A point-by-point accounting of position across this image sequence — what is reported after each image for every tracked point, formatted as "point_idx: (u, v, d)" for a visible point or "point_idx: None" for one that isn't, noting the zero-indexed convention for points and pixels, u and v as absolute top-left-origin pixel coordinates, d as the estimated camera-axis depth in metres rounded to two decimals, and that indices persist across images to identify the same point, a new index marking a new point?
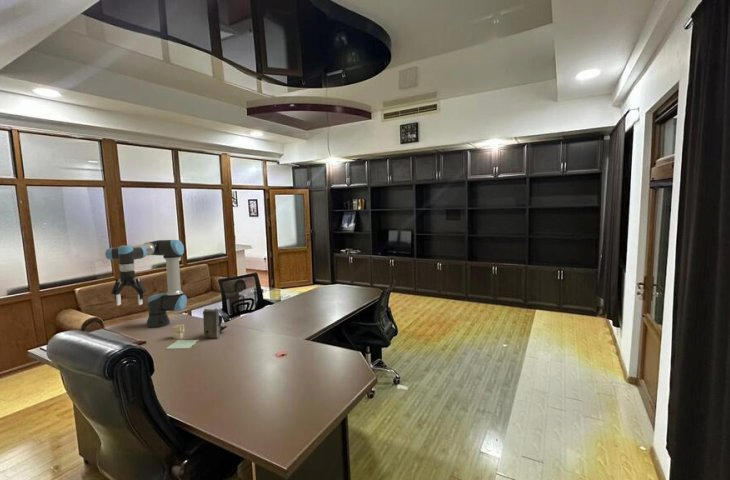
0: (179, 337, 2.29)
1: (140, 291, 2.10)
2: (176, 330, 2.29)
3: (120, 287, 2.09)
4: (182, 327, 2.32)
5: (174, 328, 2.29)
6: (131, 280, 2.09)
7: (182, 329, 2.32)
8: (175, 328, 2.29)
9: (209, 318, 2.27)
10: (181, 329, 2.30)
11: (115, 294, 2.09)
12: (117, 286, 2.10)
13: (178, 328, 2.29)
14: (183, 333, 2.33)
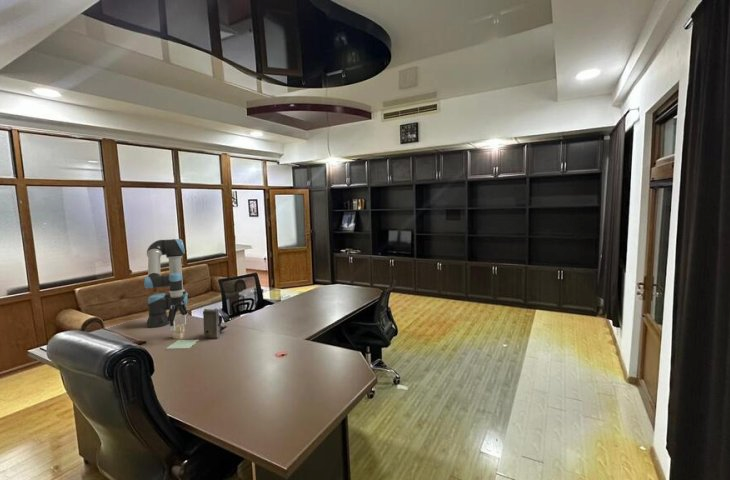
0: (179, 337, 2.29)
1: None
2: (176, 330, 2.29)
3: (178, 309, 2.34)
4: (182, 327, 2.32)
5: None
6: None
7: (182, 329, 2.32)
8: (175, 328, 2.29)
9: (209, 318, 2.27)
10: (181, 329, 2.30)
11: (182, 314, 2.38)
12: (183, 307, 2.37)
13: (178, 328, 2.29)
14: (183, 333, 2.33)
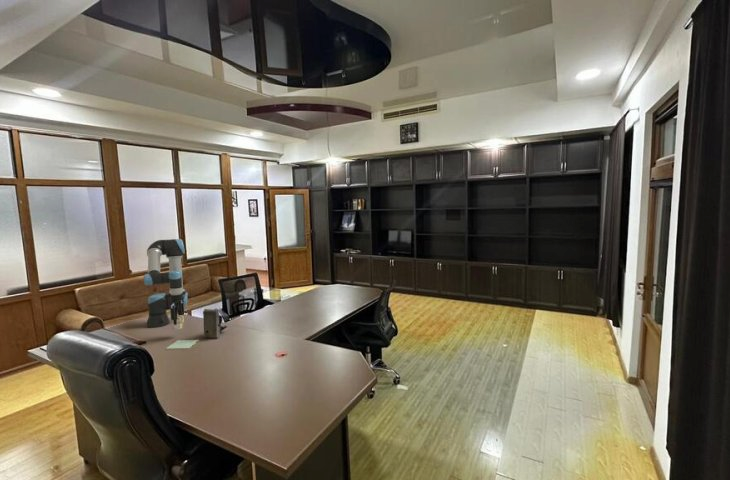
0: None
1: None
2: None
3: None
4: (181, 318, 2.32)
5: None
6: None
7: (182, 320, 2.32)
8: None
9: (209, 318, 2.27)
10: (180, 320, 2.30)
11: None
12: (181, 307, 2.36)
13: None
14: (182, 324, 2.33)
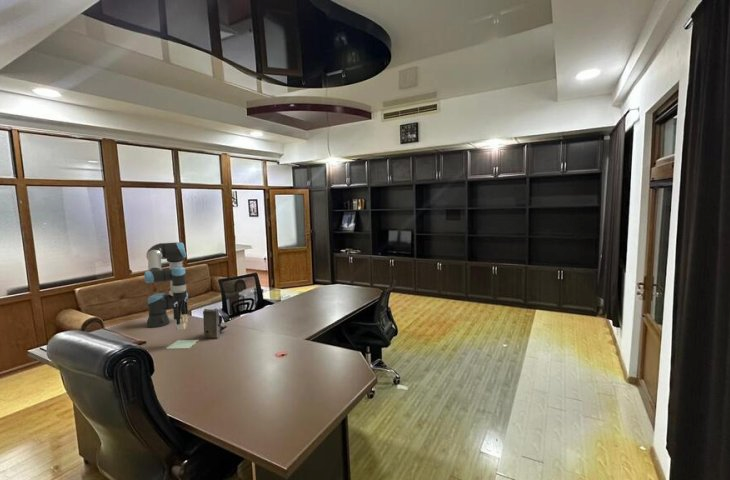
0: (182, 328, 2.14)
1: None
2: None
3: (180, 307, 2.18)
4: (185, 317, 2.17)
5: None
6: None
7: (185, 319, 2.17)
8: None
9: (209, 318, 2.27)
10: (184, 319, 2.15)
11: None
12: (185, 306, 2.21)
13: (181, 318, 2.14)
14: (186, 323, 2.18)
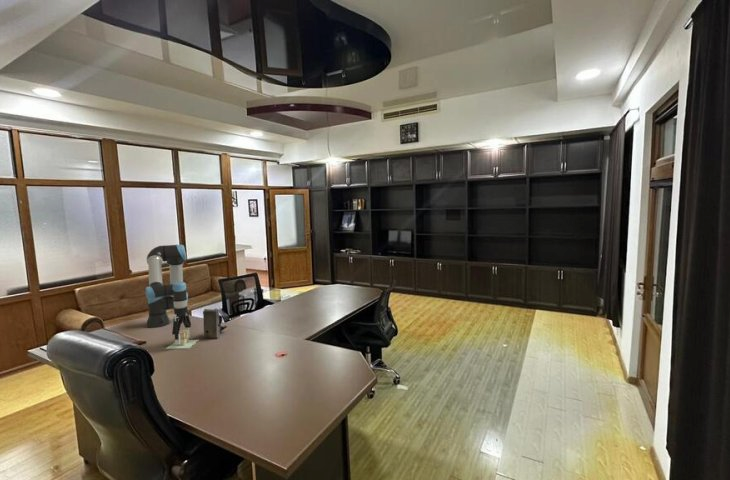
0: (183, 344, 2.15)
1: None
2: (180, 336, 2.15)
3: (182, 321, 2.20)
4: (186, 333, 2.18)
5: None
6: None
7: (186, 335, 2.18)
8: None
9: (209, 318, 2.27)
10: (185, 335, 2.16)
11: None
12: (187, 319, 2.23)
13: (182, 334, 2.15)
14: (187, 339, 2.19)
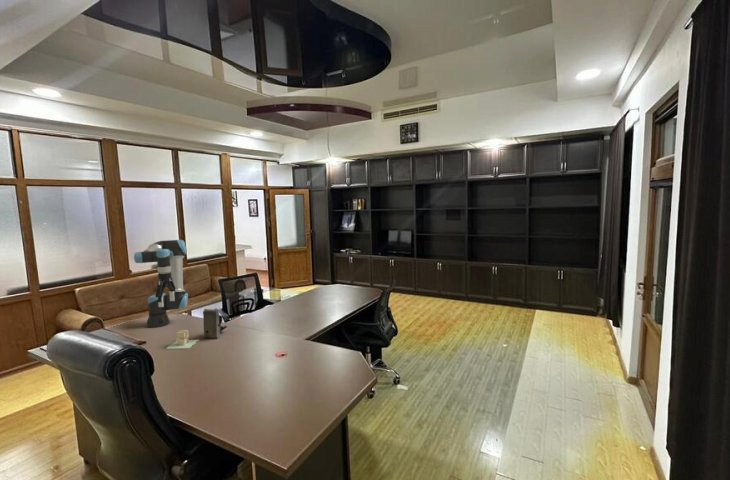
0: (183, 344, 2.15)
1: None
2: (180, 336, 2.15)
3: (167, 286, 2.31)
4: (186, 333, 2.18)
5: (178, 334, 2.15)
6: None
7: (186, 335, 2.18)
8: (179, 334, 2.15)
9: (209, 318, 2.27)
10: (185, 335, 2.16)
11: (170, 290, 2.35)
12: (171, 284, 2.34)
13: (182, 334, 2.15)
14: (187, 339, 2.19)
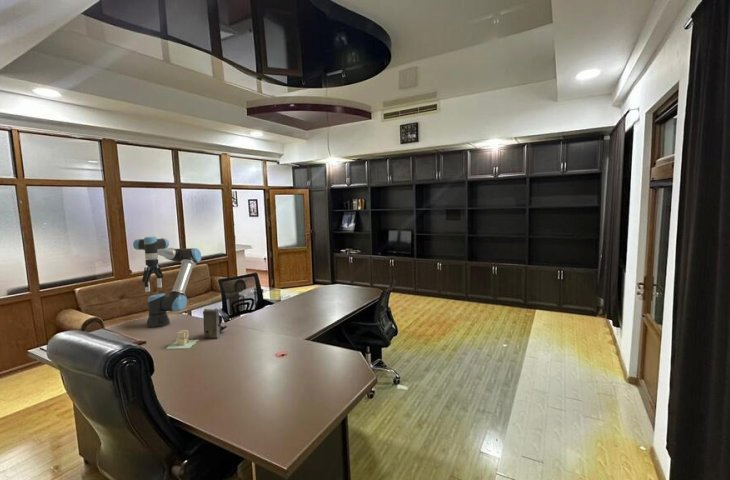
0: (183, 344, 2.15)
1: None
2: (180, 336, 2.15)
3: (154, 272, 2.41)
4: (186, 333, 2.18)
5: (178, 334, 2.15)
6: None
7: (186, 335, 2.18)
8: (179, 334, 2.15)
9: (209, 318, 2.27)
10: (185, 335, 2.16)
11: None
12: (159, 271, 2.44)
13: (182, 334, 2.15)
14: (187, 339, 2.19)
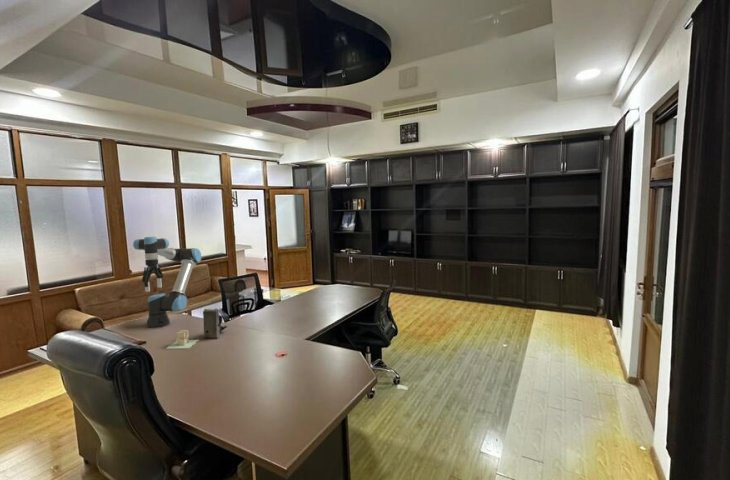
0: (183, 344, 2.15)
1: None
2: (180, 336, 2.15)
3: (154, 272, 2.41)
4: (186, 333, 2.18)
5: (178, 334, 2.15)
6: None
7: (186, 335, 2.18)
8: (179, 334, 2.15)
9: (209, 318, 2.27)
10: (185, 335, 2.16)
11: None
12: (159, 271, 2.44)
13: (182, 334, 2.15)
14: (187, 339, 2.19)
